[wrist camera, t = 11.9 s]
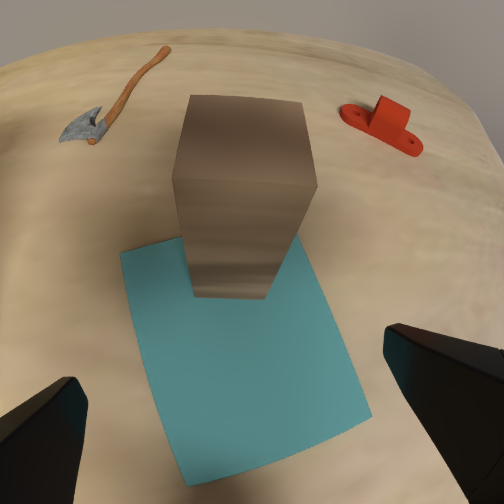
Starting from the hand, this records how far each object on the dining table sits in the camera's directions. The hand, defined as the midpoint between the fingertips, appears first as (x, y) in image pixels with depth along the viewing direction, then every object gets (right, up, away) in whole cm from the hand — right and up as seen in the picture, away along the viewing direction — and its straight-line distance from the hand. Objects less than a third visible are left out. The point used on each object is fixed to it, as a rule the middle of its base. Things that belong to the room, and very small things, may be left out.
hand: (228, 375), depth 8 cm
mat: (0, -3, +13) cm, 14 cm away
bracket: (+17, +18, +26) cm, 36 cm away
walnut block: (-1, +2, +15) cm, 15 cm away
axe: (-17, +24, +26) cm, 39 cm away
